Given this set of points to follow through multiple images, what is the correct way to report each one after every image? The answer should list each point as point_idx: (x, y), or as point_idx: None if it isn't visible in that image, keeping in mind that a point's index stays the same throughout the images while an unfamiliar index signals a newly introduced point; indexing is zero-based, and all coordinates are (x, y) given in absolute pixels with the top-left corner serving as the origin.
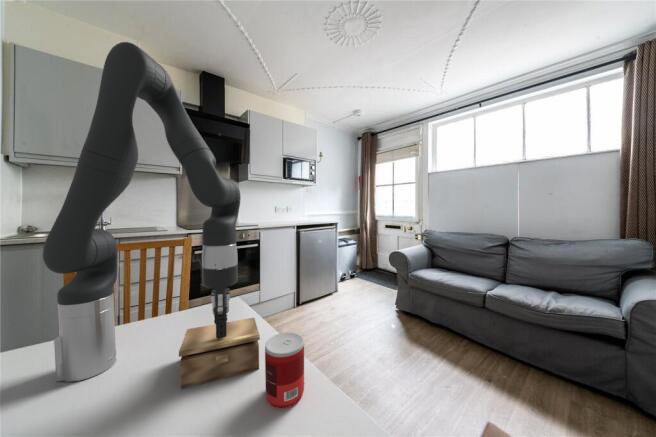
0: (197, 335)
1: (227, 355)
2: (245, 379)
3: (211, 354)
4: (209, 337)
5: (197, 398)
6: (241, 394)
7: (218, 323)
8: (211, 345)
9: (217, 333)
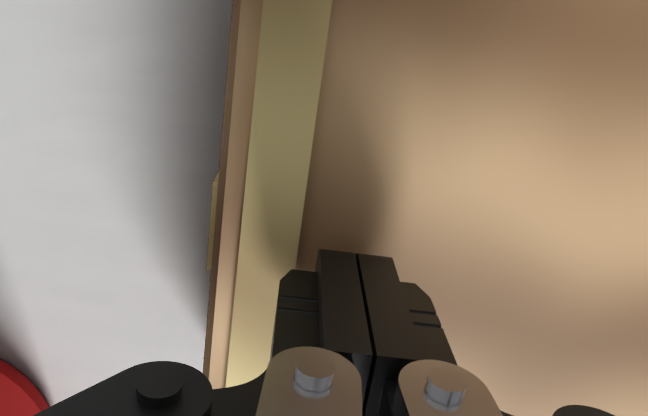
0: (605, 52)
1: (208, 263)
2: (165, 282)
3: (222, 154)
4: (456, 174)
5: (119, 8)
6: (47, 242)
7: (254, 388)
8: (247, 180)
9: (316, 283)
